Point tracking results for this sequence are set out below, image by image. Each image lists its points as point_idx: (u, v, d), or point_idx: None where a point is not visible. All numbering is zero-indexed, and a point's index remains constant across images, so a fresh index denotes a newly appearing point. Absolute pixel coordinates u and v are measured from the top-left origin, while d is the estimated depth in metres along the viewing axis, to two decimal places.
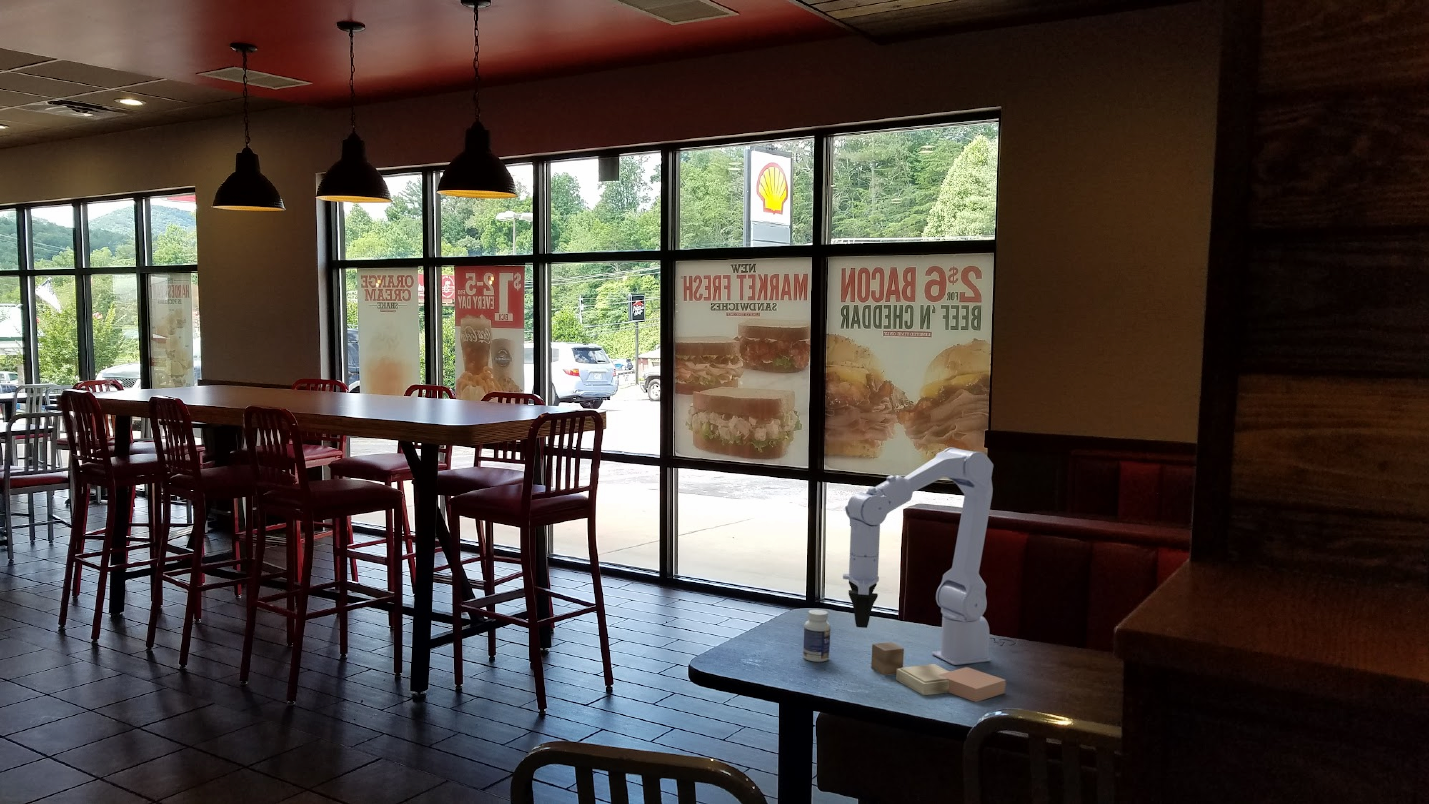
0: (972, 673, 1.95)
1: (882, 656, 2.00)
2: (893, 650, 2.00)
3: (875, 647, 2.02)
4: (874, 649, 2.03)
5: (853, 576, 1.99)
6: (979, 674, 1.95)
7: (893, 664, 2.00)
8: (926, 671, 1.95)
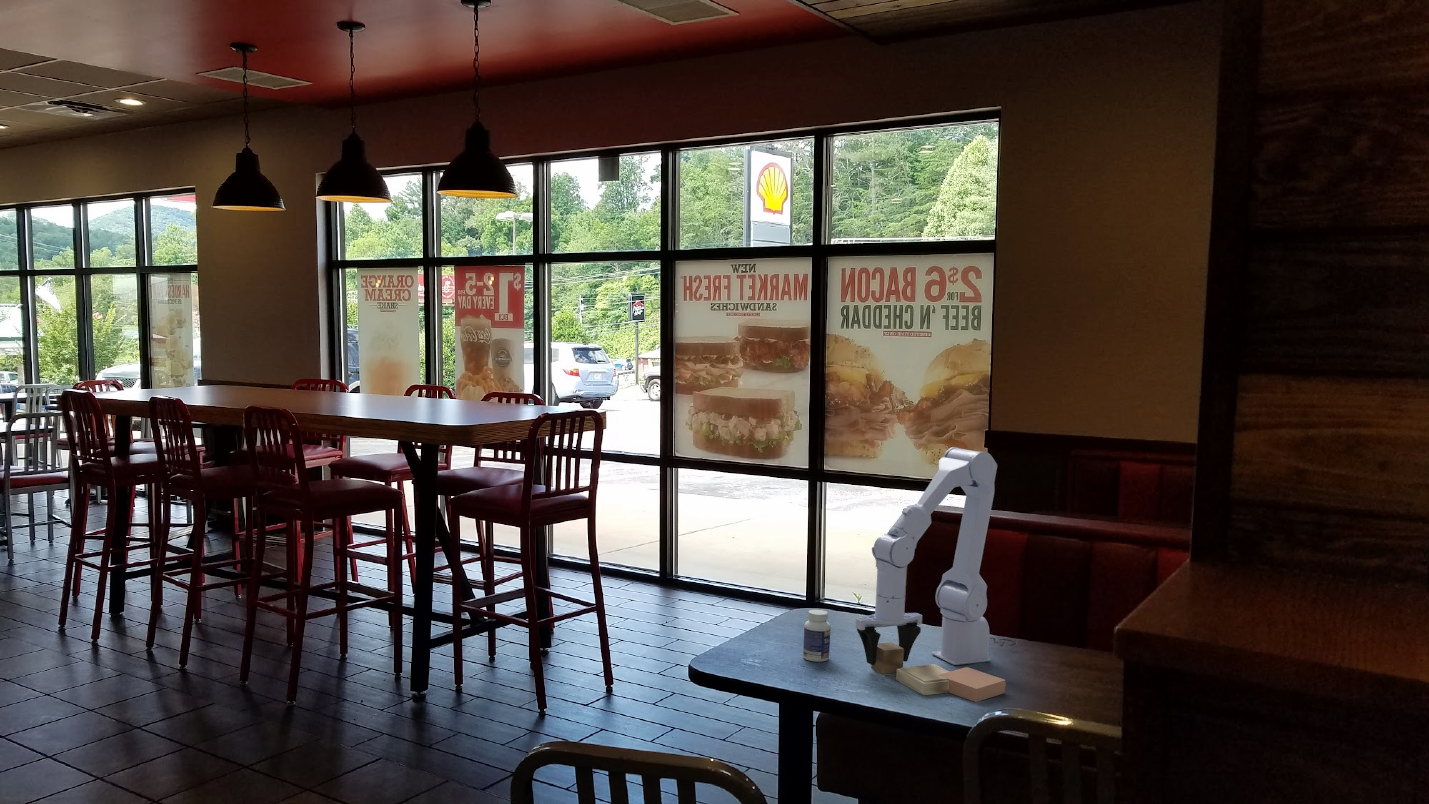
0: (972, 673, 1.95)
1: (882, 656, 2.00)
2: (893, 650, 2.00)
3: None
4: None
5: None
6: (979, 674, 1.95)
7: (893, 664, 2.00)
8: (926, 671, 1.95)
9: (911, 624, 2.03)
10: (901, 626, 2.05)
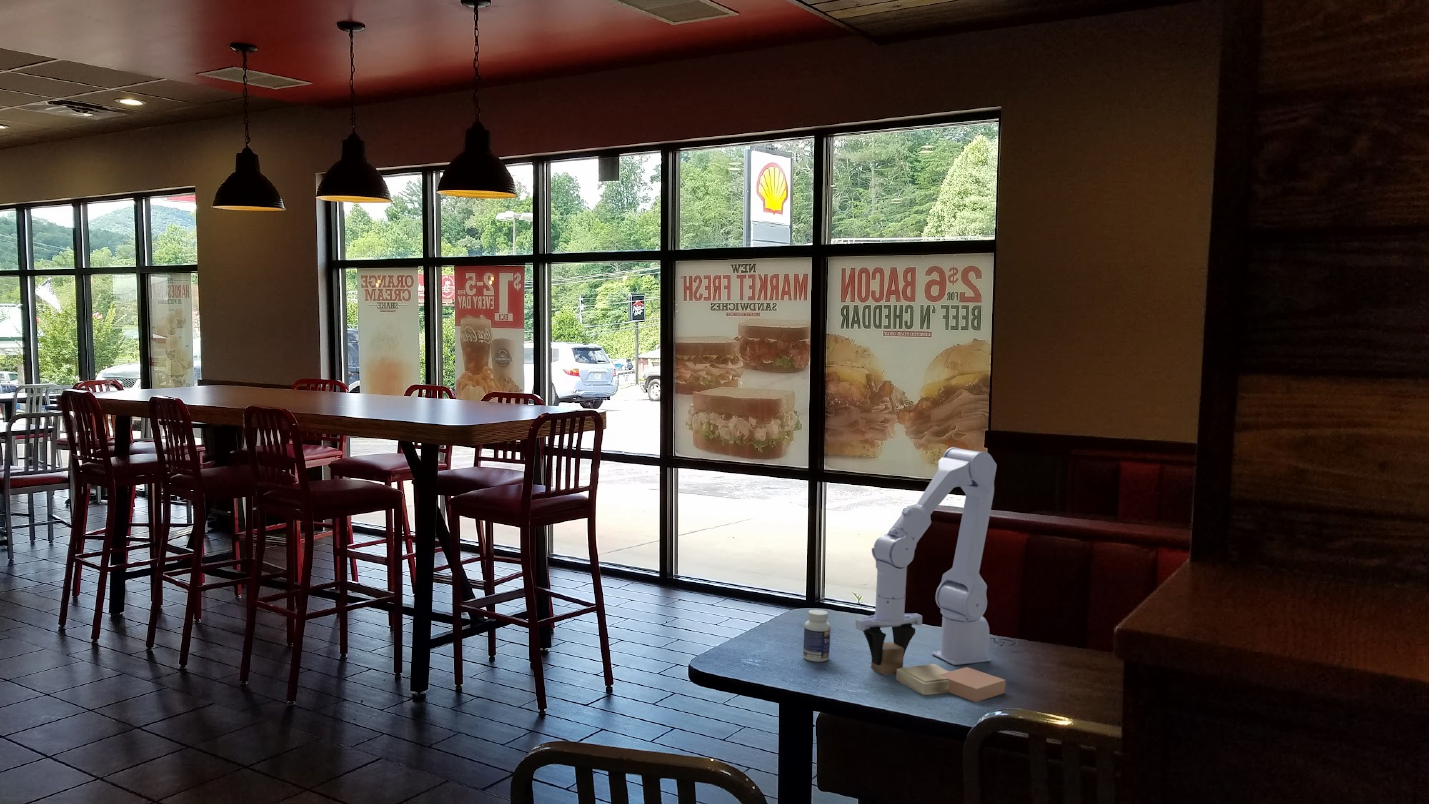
0: (972, 673, 1.95)
1: (882, 656, 2.00)
2: (893, 649, 2.00)
3: None
4: None
5: None
6: (979, 674, 1.95)
7: (893, 664, 2.00)
8: (926, 671, 1.95)
9: (911, 625, 2.03)
10: (896, 627, 2.04)
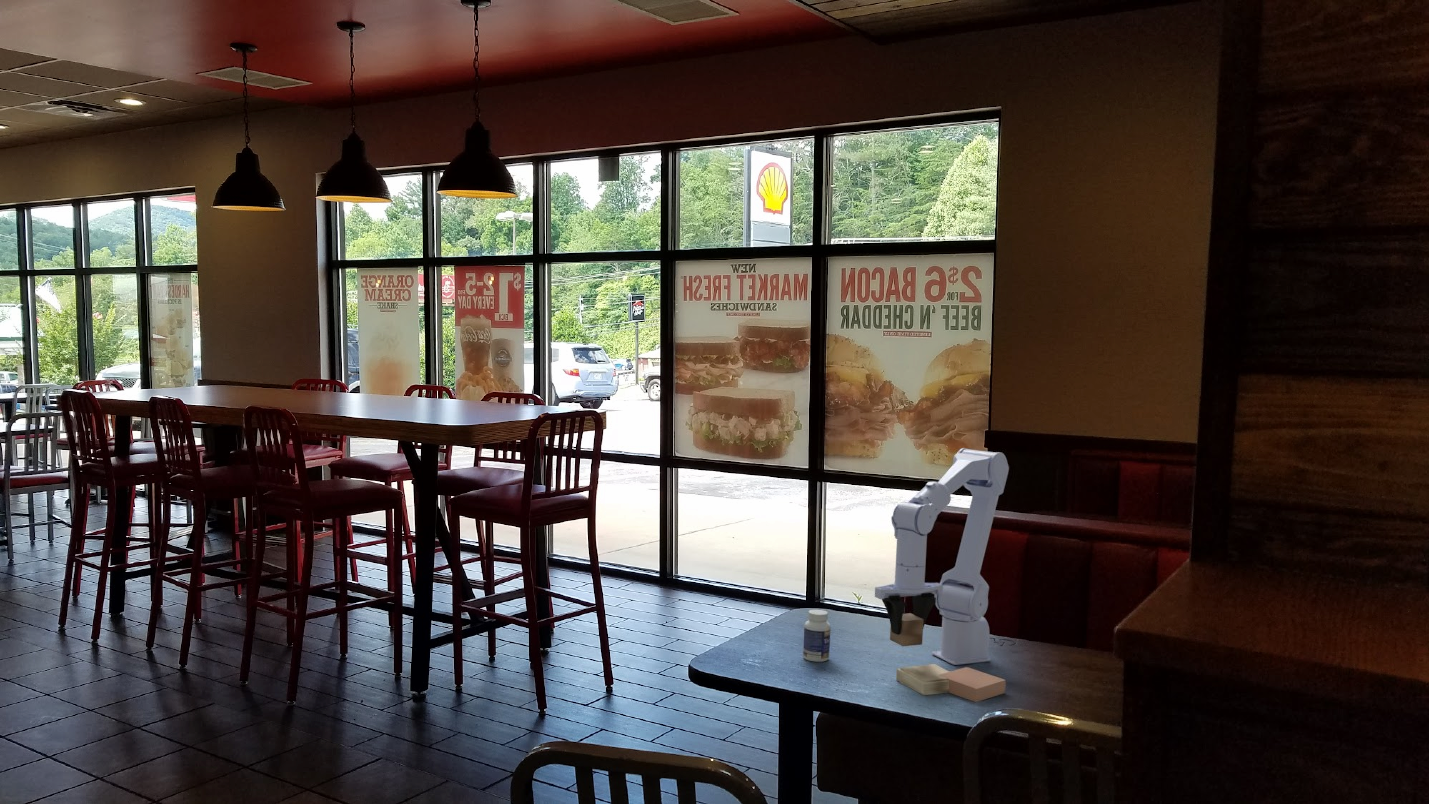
0: (972, 673, 1.95)
1: (901, 627, 1.96)
2: (912, 620, 1.96)
3: None
4: None
5: None
6: (979, 674, 1.95)
7: (913, 635, 1.97)
8: (926, 671, 1.95)
9: (931, 594, 1.99)
10: (916, 596, 2.00)
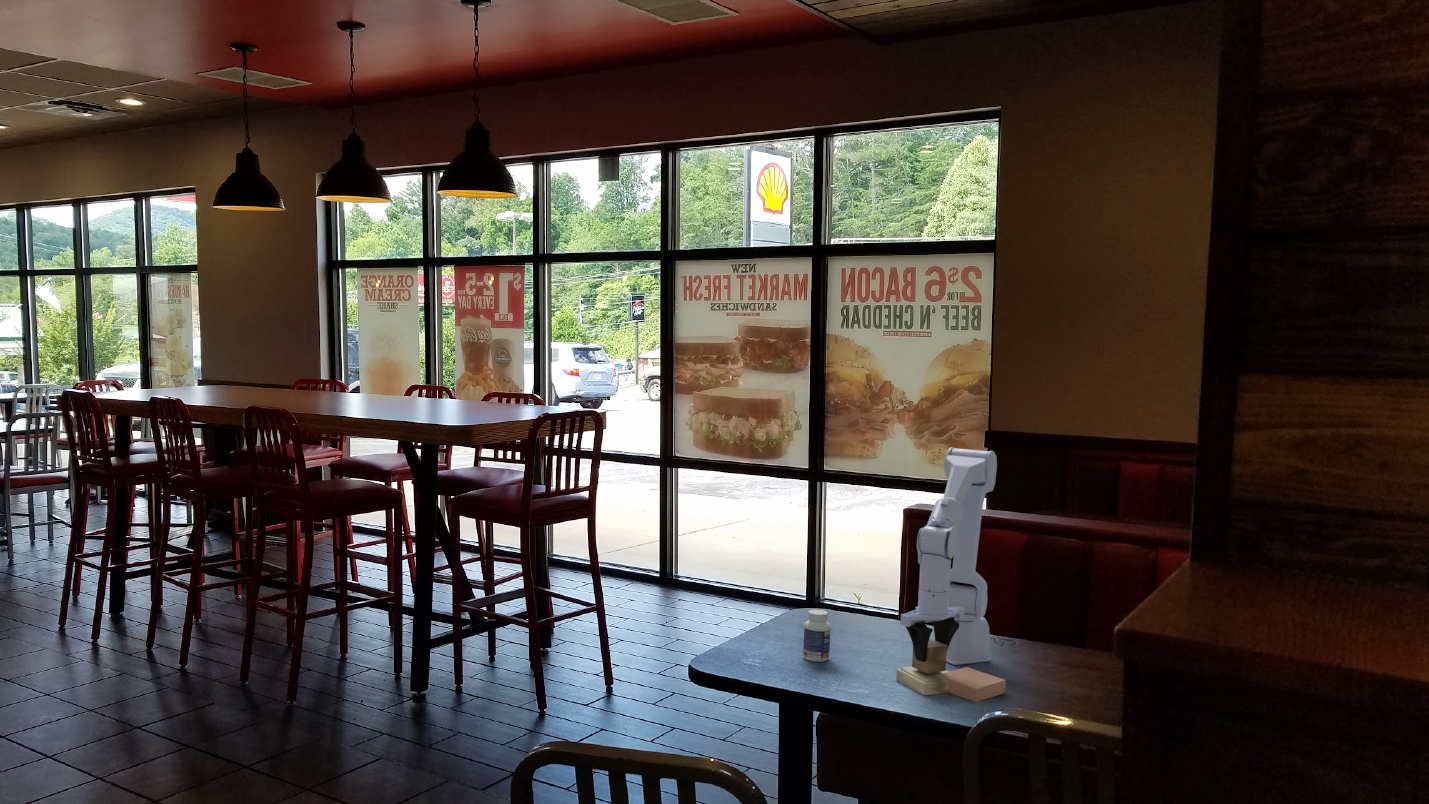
0: (972, 673, 1.95)
1: None
2: (937, 647, 1.92)
3: None
4: None
5: (917, 608, 1.94)
6: (979, 674, 1.95)
7: (937, 662, 1.93)
8: None
9: (954, 618, 1.96)
10: (938, 621, 1.96)
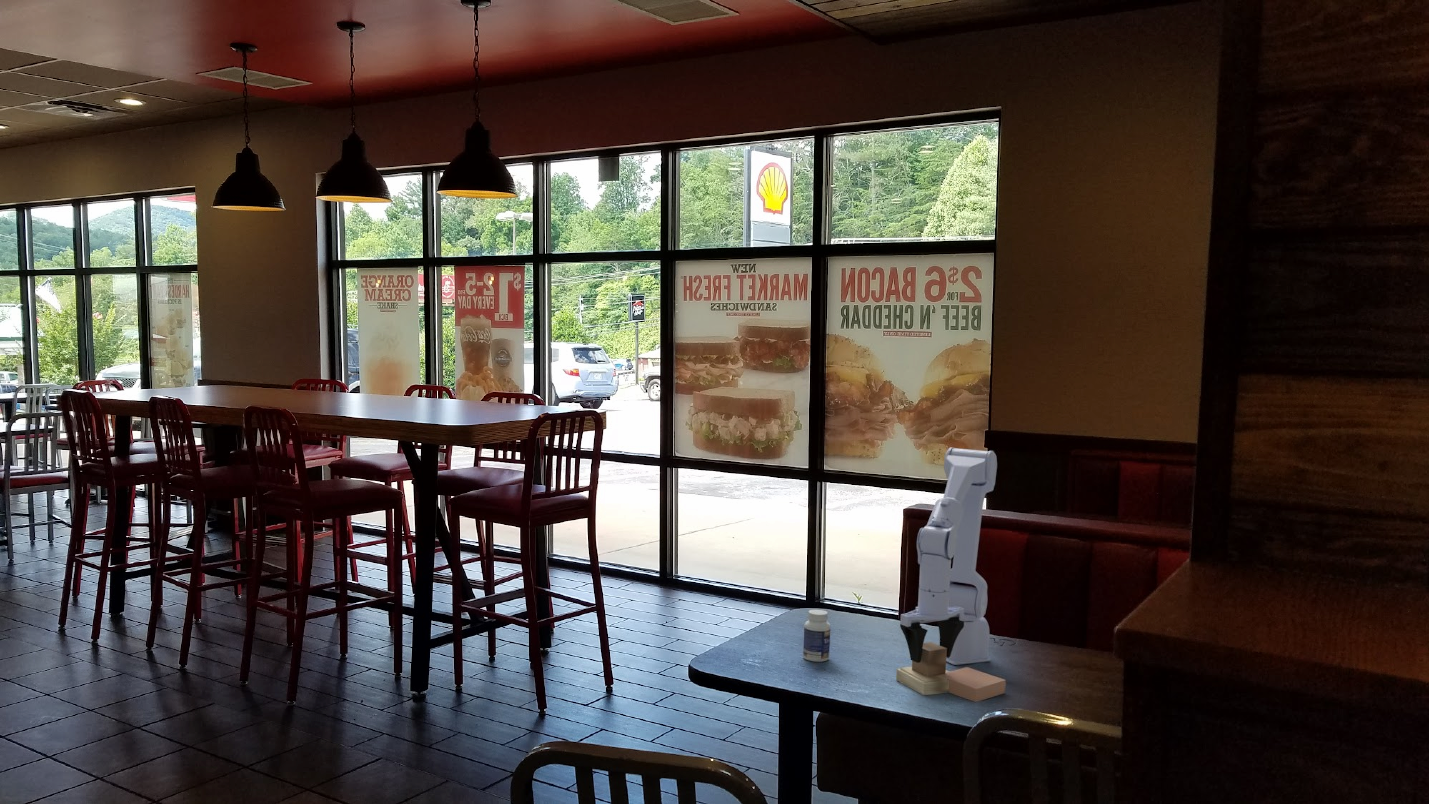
0: (972, 673, 1.95)
1: (926, 657, 1.92)
2: (936, 650, 1.92)
3: None
4: None
5: (917, 608, 1.94)
6: (979, 674, 1.95)
7: (937, 665, 1.93)
8: None
9: (954, 618, 1.96)
10: (942, 621, 1.97)
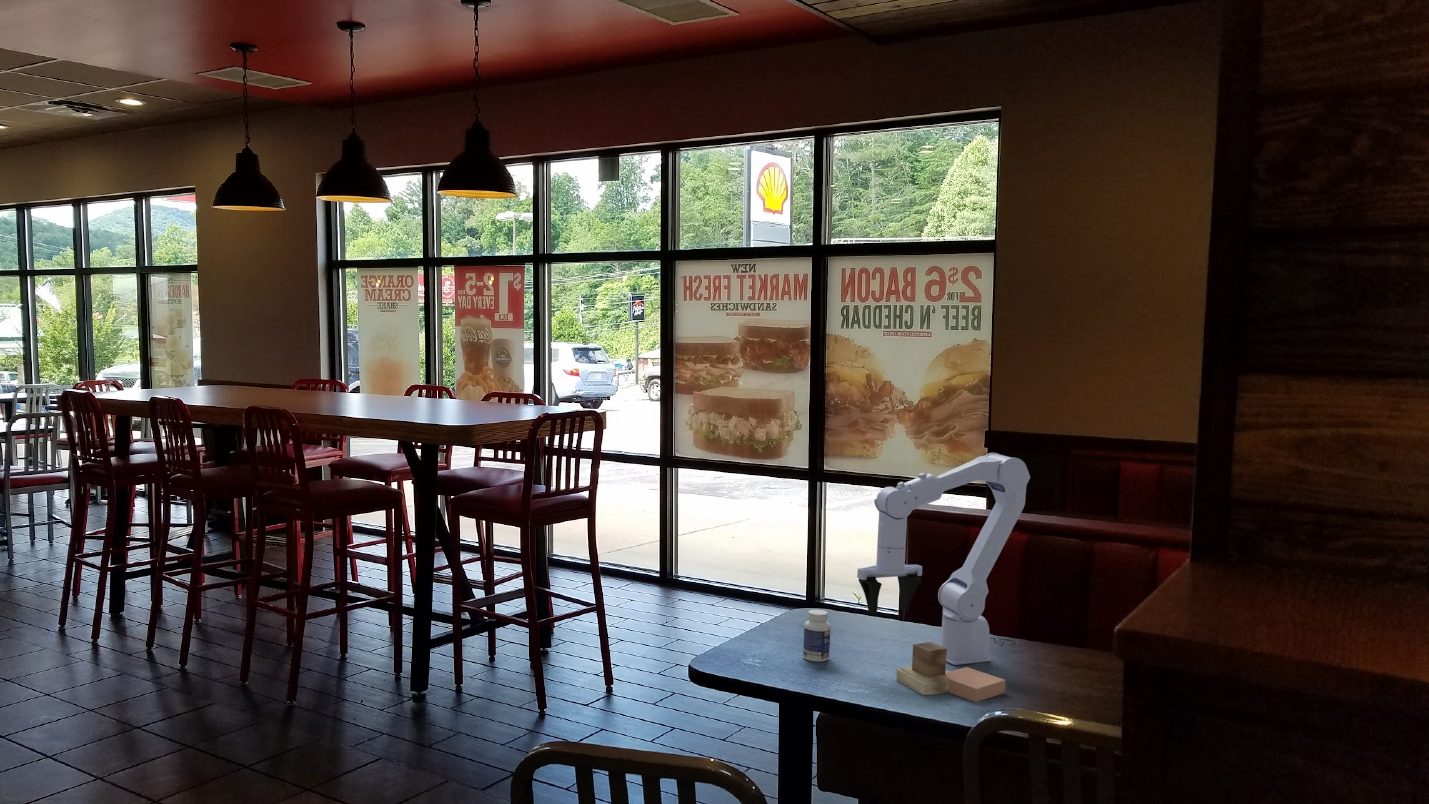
0: (972, 673, 1.95)
1: (926, 657, 1.92)
2: (936, 650, 1.92)
3: (917, 648, 1.94)
4: (915, 650, 1.95)
5: None
6: (979, 674, 1.95)
7: (937, 665, 1.93)
8: None
9: (911, 575, 2.08)
10: (902, 577, 2.10)
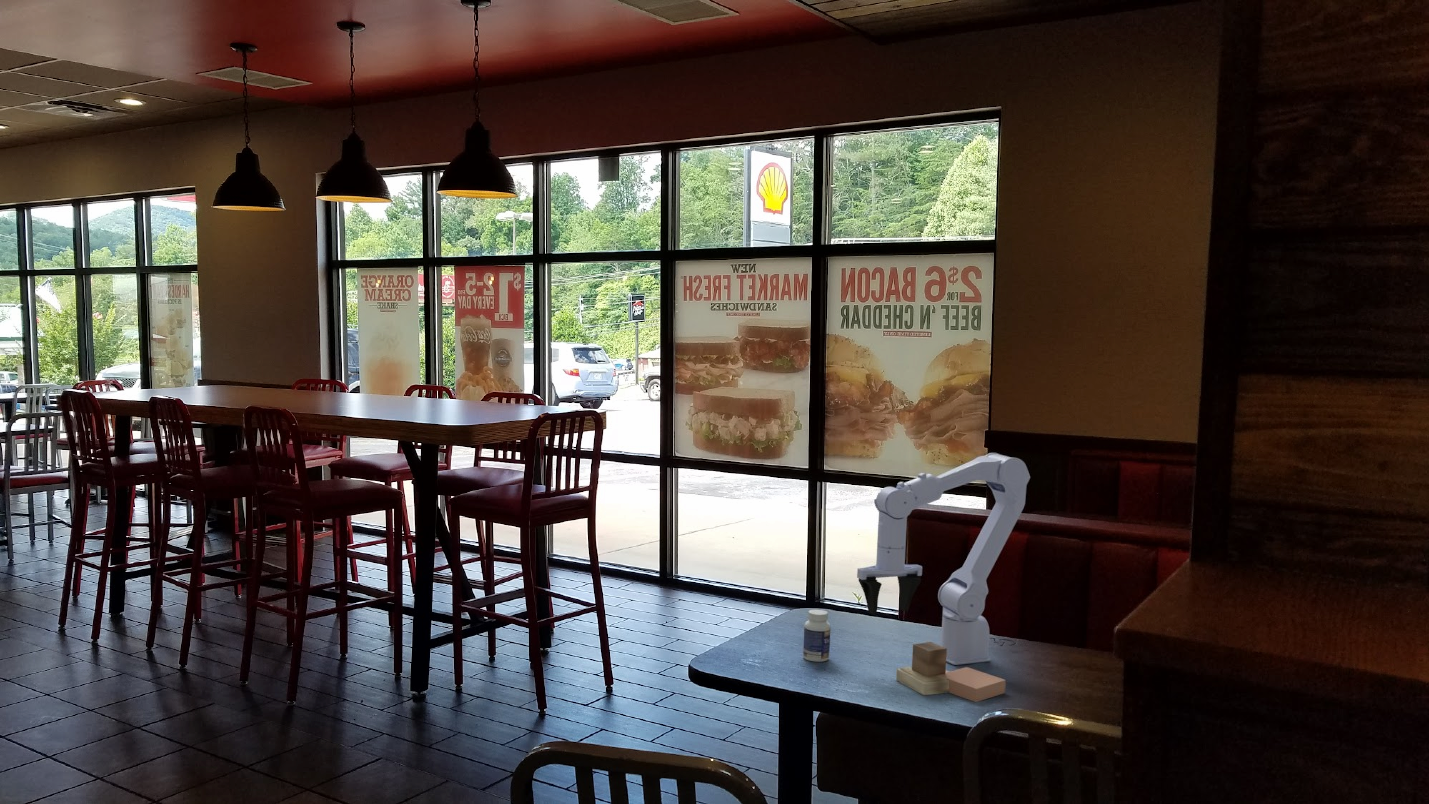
0: (972, 673, 1.95)
1: (926, 657, 1.92)
2: (936, 650, 1.92)
3: (917, 648, 1.94)
4: (915, 650, 1.95)
5: None
6: (979, 674, 1.95)
7: (937, 665, 1.93)
8: None
9: (911, 575, 2.08)
10: (901, 577, 2.10)
